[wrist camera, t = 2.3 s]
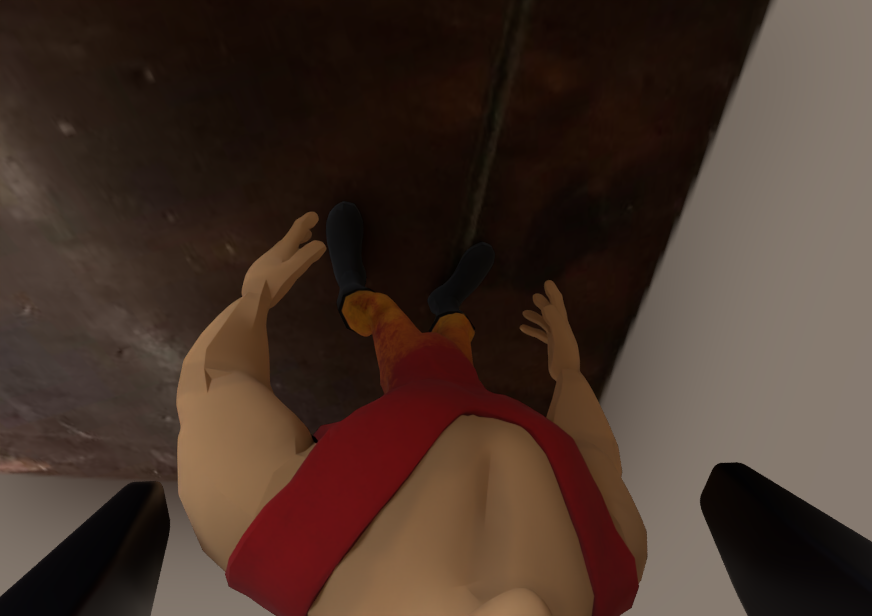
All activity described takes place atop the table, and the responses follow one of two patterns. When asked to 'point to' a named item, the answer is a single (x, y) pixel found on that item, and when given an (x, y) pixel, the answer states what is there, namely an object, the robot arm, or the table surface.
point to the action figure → (403, 462)
